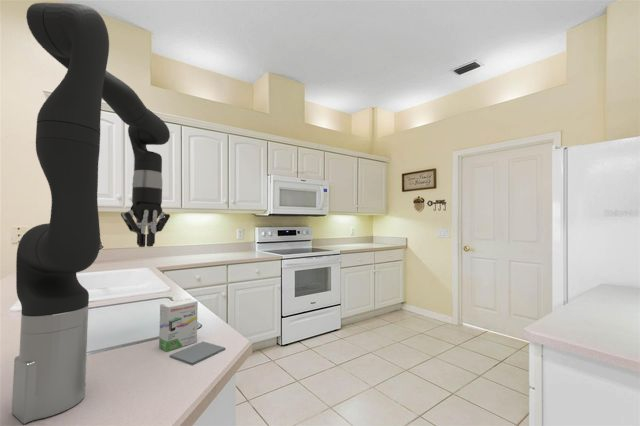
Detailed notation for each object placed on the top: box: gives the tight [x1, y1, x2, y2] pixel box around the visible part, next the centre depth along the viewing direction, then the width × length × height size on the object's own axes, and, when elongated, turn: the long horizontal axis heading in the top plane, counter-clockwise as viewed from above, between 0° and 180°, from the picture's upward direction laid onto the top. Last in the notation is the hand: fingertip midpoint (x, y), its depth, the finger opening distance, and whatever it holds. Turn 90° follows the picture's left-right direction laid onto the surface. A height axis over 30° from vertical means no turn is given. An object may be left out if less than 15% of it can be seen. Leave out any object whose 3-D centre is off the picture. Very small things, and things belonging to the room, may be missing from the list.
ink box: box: [158, 297, 199, 352], centre depth 80 cm, size 8×5×12 cm, turn 140°
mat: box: [169, 341, 226, 366], centre depth 74 cm, size 10×9×1 cm
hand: (145, 246), depth 84 cm, fingers closed
